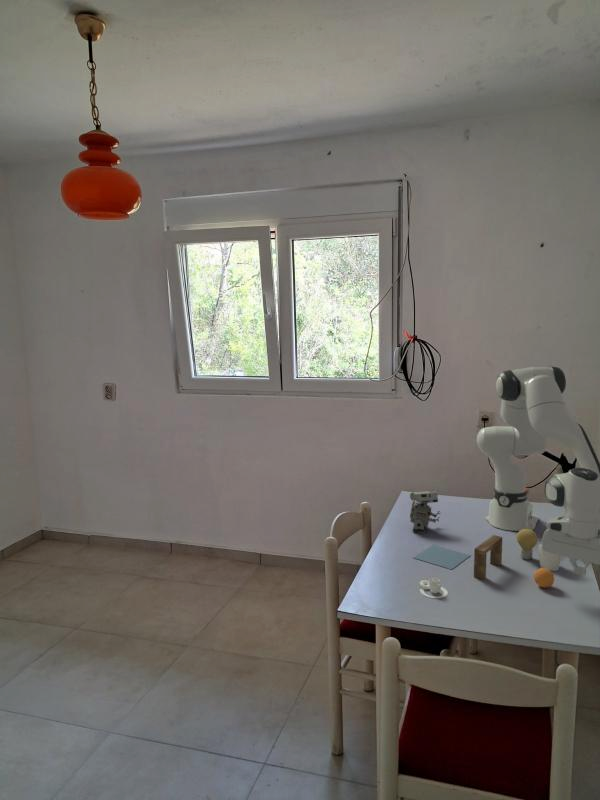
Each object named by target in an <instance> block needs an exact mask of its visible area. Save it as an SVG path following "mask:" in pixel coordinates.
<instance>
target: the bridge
mask: <svg viewBox="0 0 600 800" xmlns="http://www.w3.org/2000/svg"><path fill="white" fill-rule="evenodd" d="M488 552H489V553H490V554H489V555H490V557H489V558H490V559H489V564H491V565H494V566H497V567H499V566H501V565H502V564H503V563H502V562H503V561H502V559H503V537H502V536H499V535H495V534H493V535H491V536H490V537H488V538H487V539H486V540H484V541H483V542H481V543H480V544H479V545H478V546H476V547H474V555H473V557H474V558H473V578H476V579H479V580H483V581H484V580H485V579H486V578H487V553H488Z"/></svg>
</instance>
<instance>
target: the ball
mask: <svg viewBox="0 0 600 800" xmlns="http://www.w3.org/2000/svg"><path fill="white" fill-rule="evenodd" d="M533 579H534V582H535V583H536V585H538V587H541V588H543V589H544V588H550V587H552V586H553V584H554V581H555V576H554V574H553V572H552V571H550V570H548V569H545V568H541V567H540V568H538V569H537V570H536V571H535V572H534V575H533Z"/></svg>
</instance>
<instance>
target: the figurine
mask: <svg viewBox="0 0 600 800" xmlns="http://www.w3.org/2000/svg"><path fill="white" fill-rule="evenodd" d="M438 496H439V495H438V494H437V491H436V490H427V491H426V490H425V491H414V492H411V493H410V494H409V498H410V500H411V501H412V503H411V504H412V505H411V508H410V509H411V510H410V514H409V515H410V516H409V518H410V519H409V520H410V521H409V522H411V523H412V524H413V528H412V532H413V533H417V532H418V533H420V534H424V533H425V527H428V526H429V522H432V523H434V524H435V523H436V522H440V520H439V519H440V517H438V518H437V516H438V515H440V513H441V511H440V510H438V511H437V513H433V512H432V506H431V505H428V504H431V503H438V502H439V499H438ZM431 516H432V517H433V518H432V517H431Z"/></svg>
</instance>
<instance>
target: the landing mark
mask: <svg viewBox="0 0 600 800" xmlns="http://www.w3.org/2000/svg"><path fill="white" fill-rule="evenodd" d="M469 557H471V554H468V553H464V552H460V551H457V550H453V549H450V548H447V547H442V546H440V545H435V544H432V545H431V546H429V547H427V548H426V549H424V550H423V551H421V552H420V553H417V554H416V555H415V556H413V559H414V560H418V561H422V562H424V563H428V564H431V565H435V566H437V565H438V566H437V567H440V568H445V569H447V570H450V571H451V570H452V571H453V570H454V569H455V568H456V567H457V566H459V565H461V564H462V563H463V562H464V561H466V560H467V559H468V558H469Z"/></svg>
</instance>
